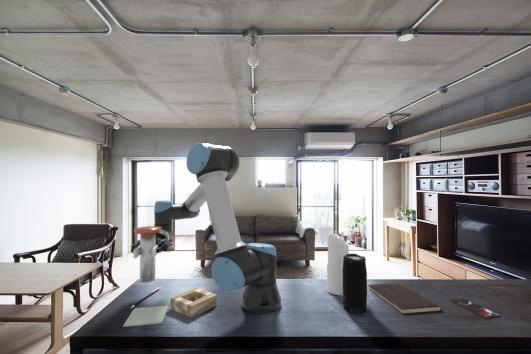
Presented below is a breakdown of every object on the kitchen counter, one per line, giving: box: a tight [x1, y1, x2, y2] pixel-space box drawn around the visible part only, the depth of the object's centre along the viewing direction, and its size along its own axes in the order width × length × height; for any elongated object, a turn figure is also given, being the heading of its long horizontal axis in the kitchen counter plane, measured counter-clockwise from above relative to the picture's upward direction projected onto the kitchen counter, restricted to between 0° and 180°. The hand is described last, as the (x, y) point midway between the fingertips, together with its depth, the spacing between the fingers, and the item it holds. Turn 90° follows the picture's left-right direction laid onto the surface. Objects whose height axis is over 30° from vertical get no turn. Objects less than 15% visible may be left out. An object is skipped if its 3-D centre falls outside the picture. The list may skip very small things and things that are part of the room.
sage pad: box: [123, 305, 169, 328], centre depth 94 cm, size 12×12×1 cm
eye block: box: [170, 287, 218, 319], centre depth 101 cm, size 12×12×4 cm
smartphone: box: [448, 297, 501, 319], centre depth 100 cm, size 7×1×15 cm
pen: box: [130, 287, 161, 309], centre depth 110 cm, size 1×19×1 cm, turn 169°
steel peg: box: [133, 225, 162, 283], centre depth 95 cm, size 9×9×18 cm
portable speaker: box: [342, 253, 368, 315], centre depth 99 cm, size 9×9×20 cm
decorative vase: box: [325, 232, 350, 296], centre depth 117 cm, size 11×11×25 cm
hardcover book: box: [367, 282, 442, 314], centre depth 108 cm, size 16×23×2 cm
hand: (143, 253), depth 90 cm, fingers closed on steel peg, 5 cm apart
